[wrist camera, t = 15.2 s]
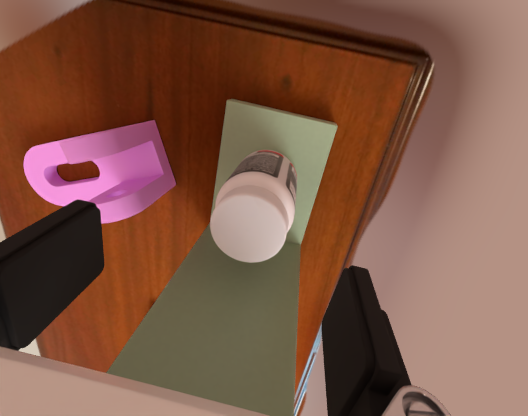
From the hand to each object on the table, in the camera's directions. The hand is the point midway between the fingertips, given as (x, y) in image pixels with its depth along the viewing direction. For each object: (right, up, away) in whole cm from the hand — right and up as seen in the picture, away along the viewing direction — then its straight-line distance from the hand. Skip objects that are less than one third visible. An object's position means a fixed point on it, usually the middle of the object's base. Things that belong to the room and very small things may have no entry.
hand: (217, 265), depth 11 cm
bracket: (-13, +6, +15) cm, 20 cm away
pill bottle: (+2, +4, +11) cm, 12 cm away
